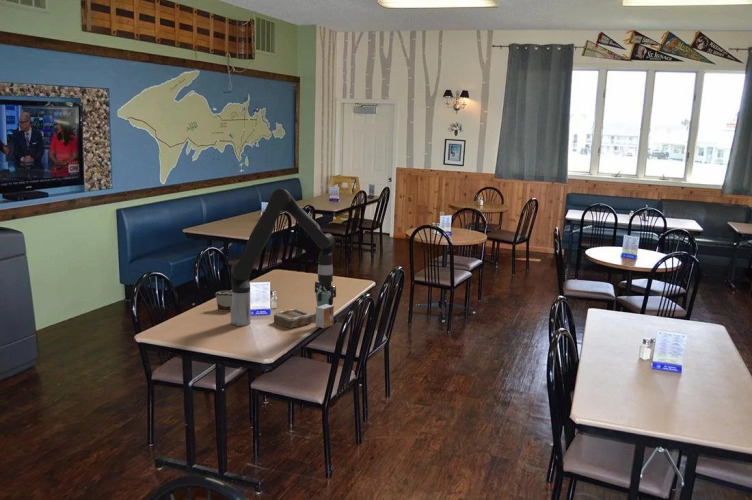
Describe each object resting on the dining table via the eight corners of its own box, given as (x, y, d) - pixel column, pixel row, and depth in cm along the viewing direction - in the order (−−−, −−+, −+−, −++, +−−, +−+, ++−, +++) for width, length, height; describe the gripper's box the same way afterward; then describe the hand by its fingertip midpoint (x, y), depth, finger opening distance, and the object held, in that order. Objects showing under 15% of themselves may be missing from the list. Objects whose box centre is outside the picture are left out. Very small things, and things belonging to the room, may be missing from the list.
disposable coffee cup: (310, 314, 353) (311, 288, 350) (321, 309, 363) (321, 284, 360) (327, 317, 349) (327, 291, 346) (337, 312, 358) (338, 286, 355)
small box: (323, 328, 331) (323, 309, 329) (315, 326, 334) (315, 306, 332) (333, 325, 337) (334, 305, 335) (325, 322, 340) (325, 303, 338)
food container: (240, 308, 361) (240, 290, 359) (237, 311, 355) (236, 293, 353) (219, 306, 362) (218, 289, 360) (215, 310, 356) (214, 292, 354)
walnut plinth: (290, 328, 329) (290, 319, 328) (273, 322, 338) (273, 313, 337) (311, 323, 338) (311, 314, 337) (295, 317, 348) (295, 308, 347)
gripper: (310, 271, 332) (310, 301, 336) (328, 276, 322) (328, 307, 326) (322, 269, 337) (321, 298, 341) (340, 274, 328) (339, 304, 331)
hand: (325, 303), depth 333 cm, fingers open, 8 cm apart
